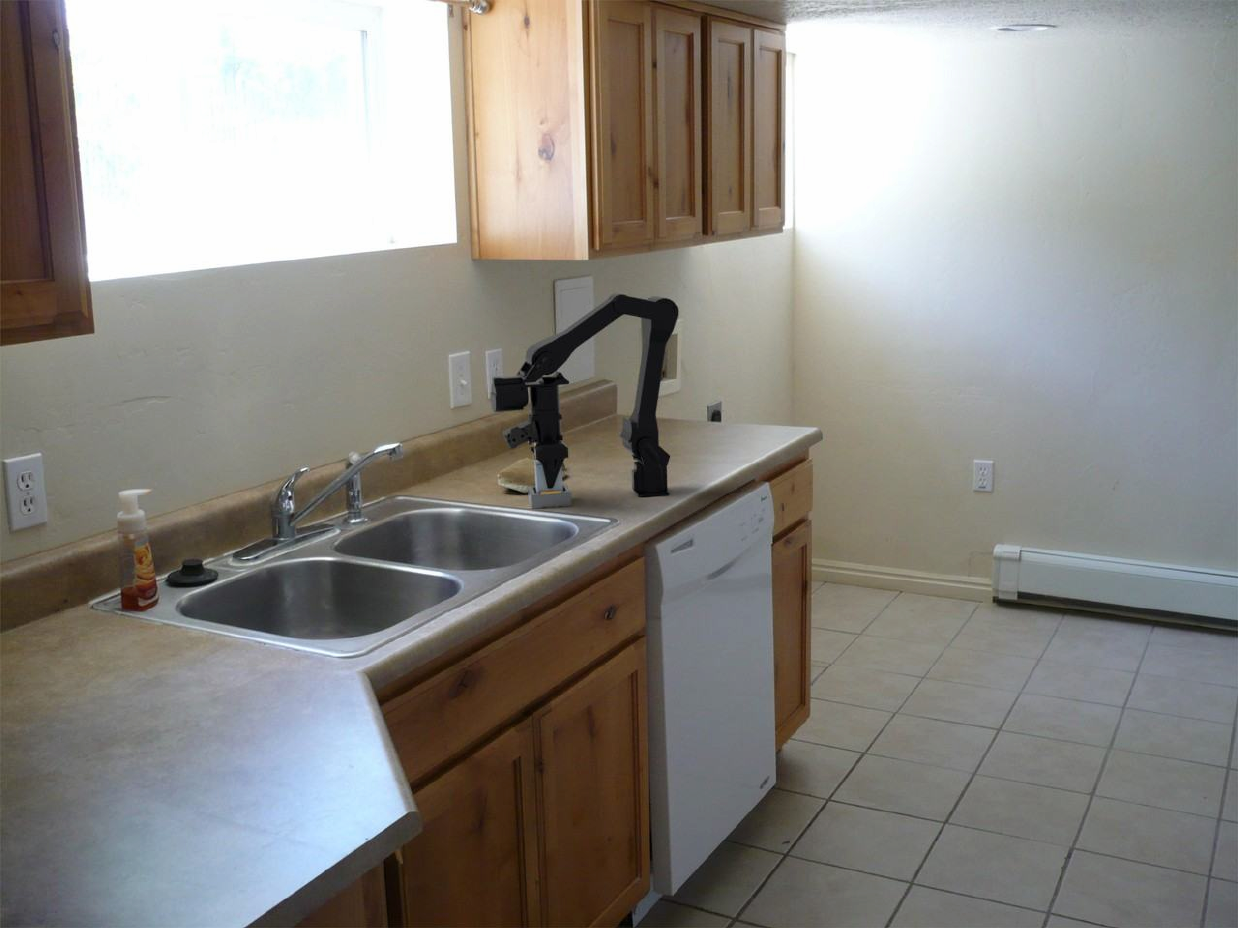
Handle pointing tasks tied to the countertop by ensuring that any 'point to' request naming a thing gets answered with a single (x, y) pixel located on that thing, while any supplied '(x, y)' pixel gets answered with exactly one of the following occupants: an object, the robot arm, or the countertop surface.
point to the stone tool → (520, 475)
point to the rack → (549, 497)
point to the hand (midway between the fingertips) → (549, 485)
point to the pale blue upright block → (541, 481)
